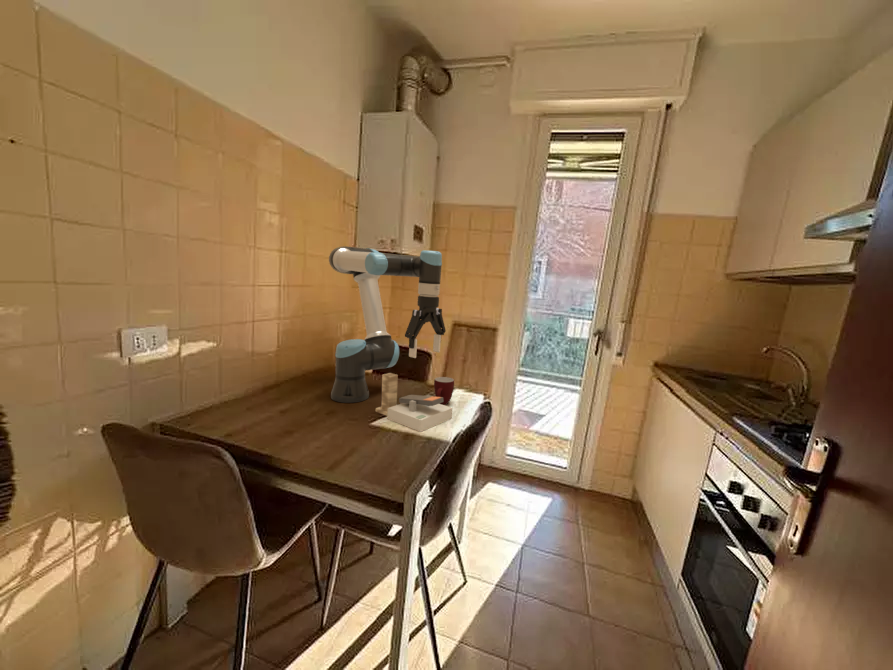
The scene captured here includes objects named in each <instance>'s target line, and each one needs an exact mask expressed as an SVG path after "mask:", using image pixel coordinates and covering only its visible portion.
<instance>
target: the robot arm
mask: <svg viewBox="0 0 893 670" xmlns="http://www.w3.org/2000/svg"><path fill="white" fill-rule="evenodd" d="M442 257H443V254H442V252H440V251H437V250H428V249H427V250H425V249H424V250H421V251H420V255H418V256H417V255H411V254H410V255H407V254H394V253H388V252H387V253H385V252H379V251H378V250H377V249H374V248H368V247H354V246H346V245H345V246H339V247H336V248H334V249H333V250H331V251H330V253H329V256H328V262H329V263H328V264H329V265H330V267H331V268H332V269H333V270H334V271H336V272H337V273H341V274H346V275H352V277H353V281H354V282H356V283H357V286H358V291H359V298H360V303H361V308H362V315H363V321H364V325H365V333H366V336H365V337H364V339H360V338H355V339H353V338H352V339H347V340H343V341H340V342H339V343H337V345H336V348H335V354H334V356H335V380H334V383H333V386H332V389H331V392H330V398H331V400H333V401H334V402H338V403H344V404H345V403H349V404H350V403H359V402H362V401H366V400H368V399H369V398H370V397H369V396H370V391H369V389H368V388H369V387H368V384H367V380H366V371H371V370H374V371H375V370H380V369H387V368H388V369H389V368H392V367H394V366H395V365H396V364H397V362H398V360H399V357H400V347H399V344H398V343H397V341H396V340H393V339H392V335H391V334H390V333H388V332H387V326H386V320H385V315H384V309H383V303H382V298H381V292H380V286H379V281H378V280H379V279H380V278H381V276H394V277H395V276H396V277H410V278H418V289H417V294H418V295H417V304H416V305H417V306H418V307H419V308H418V309H412V313H411V318H410V320H409V322H408V326H407V328H406V331H405V333H404V337H405V338H407V339H408V348H409V349H408V357H410V358H414V359H416V358H417V349H418V339H417V336H418V335H419V333H420V332H421V330H422V328H423V326H424V325H425V324H426V323H430V325H431V327H432V329H433V331H434V334H433V346H432V347H433V348H432V352H435V353H441V344H442V336H444V335H445V333H446V331H447V330H446V326H445V322H444V318H443V309H442V308H439V305H440V297H439V295H440V291H441V290H440V289H441V288H440V287H441V277H442V276H441V275H442V265H443V262H442V260H443V258H442Z"/></svg>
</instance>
